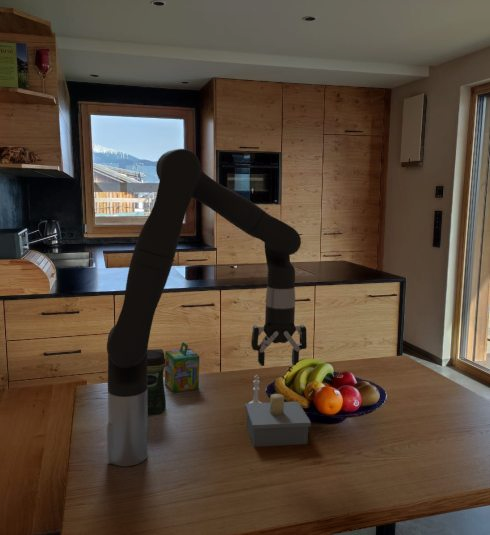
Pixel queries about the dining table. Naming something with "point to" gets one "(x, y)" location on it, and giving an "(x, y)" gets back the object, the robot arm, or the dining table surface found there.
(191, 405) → the dining table surface
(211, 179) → the robot arm
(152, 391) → the coffee jar
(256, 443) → the box
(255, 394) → the chess piece
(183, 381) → the chalk box
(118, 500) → the dining table surface
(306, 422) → the lid
